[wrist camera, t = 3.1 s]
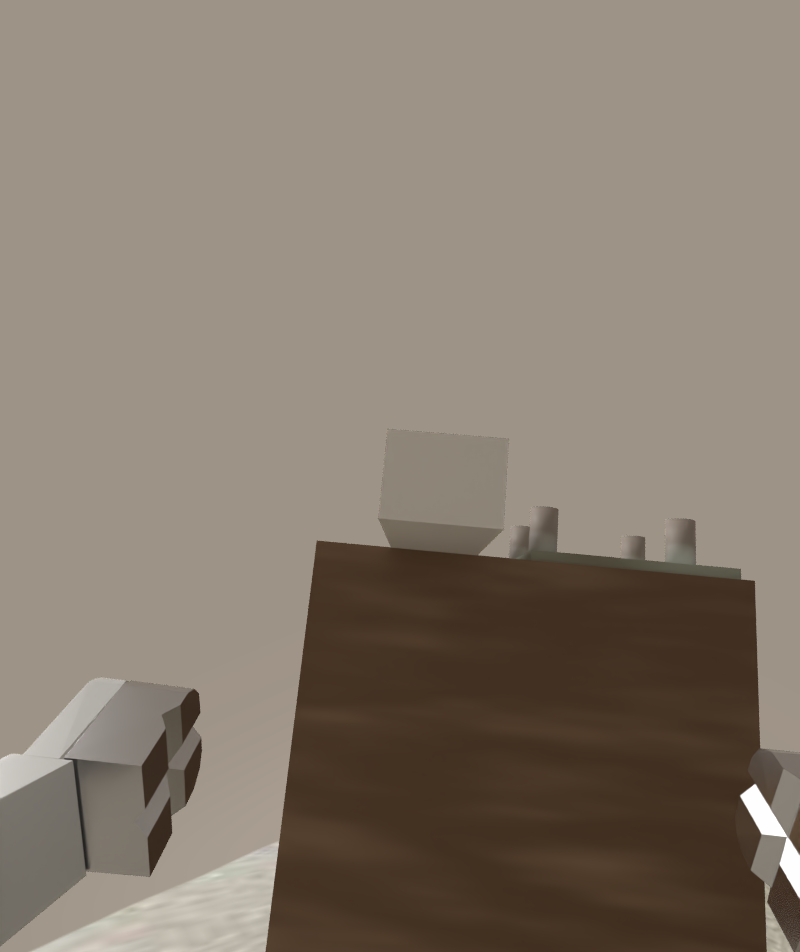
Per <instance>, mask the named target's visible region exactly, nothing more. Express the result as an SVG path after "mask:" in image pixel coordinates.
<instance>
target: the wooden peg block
mask: <svg viewBox="0 0 800 952" xmlns="http://www.w3.org/2000/svg"><path fill="white" fill-rule="evenodd" d="M530 512H531V513H530V527H528V526H511V532H510V550H509V558H500V557H489V556H478V555H467V554H456V553H445V552H434V551H423V550H412V549H402V548H391V547H380V546H369V545H358V544H347V543H336V542H324V541H317V544H316V553H315V561H314V568H313V576H312V584H311V593H310V600H309V608H308V616H307V624H306V632H305V640H304V649H303V657H302V665H301V673H300V680H299V688H298V697H297V705H296V713H295V720H294V728H293V736H292V745H291V753H290V761H289V769H288V777H287V786H286V793H285V802H284V809H283V817H282V825H281V834H280V841H279V849H278V857H277V865H276V873H275V881H274V889H273V897H272V905H271V913H270V921H269V929H268V937H267V945H266V952H767V949H766V918H765V887H764V881H763V880H761V879H760V878H759V877H758V876H757V875H756V874H754V873H753V872H752V871H751V870H750V868H749V866H748V864H747V862H746V860H745V858H744V856H743V854H742V852H741V848H740V845H739V842H738V839H737V833H736V819H735V814H736V810H737V806H738V802H739V798H740V795H742V794H743V793H744V792H745V791H747V790H748V789H749V788H751V787H752V786H753V785H755V783H754V782H753V780H752V778H751V776H750V774H749V772H748V768H749V765H750V762H751V759H752V756H753V755H754V754H755V753H756V752H757V751H758V750H759V748H760V731H759V699H758V668H757V638H756V608H755V581H750V580H741V569H734V568H724V567H713V566H702V565H696V546H695V545H696V542H695V541H696V540H695V539H696V537H695V521H694V520H691V519H667V520H665V562H658V561H647V560H645V537H641V536H622V537H621V558H614V557H602V556H591V555H581V554H570V553H558V552H557V532H558V531H557V530H558V509H557V508H553V507H532V508H531V511H530Z"/></svg>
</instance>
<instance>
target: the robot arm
mask: <svg viewBox="0 0 800 952" xmlns="http://www.w3.org/2000/svg"><path fill="white" fill-rule="evenodd" d="M199 714H200V702H199V693H198V692H197V691H196V690H195V689H191V688H183V687H175V686H168V685H160V684H152V683H144V682H137V681H130V682H129V681H125V680H117V679H109V678H100V677H99V678H96V679H93V680H91V681H89V682H88V683H87V684H86V685H85V686H84V688H83V689H82V690H81V691H80V692H79V693H78V694H77V695H76V696H75V697H74V698H73V700H72V701H71V702H70V703H69V704H68V705H67V706H66V707H65V708H64V709H63V711H62V712H61V713H60V714H59V715H58V716H57V717H56V718H55V719H54V721H53V722H52V723H51V724H50V725H49V726H48V727H47V728H46V729H45V731H44V732H43V733H42V734H41V735H40V736H39V737H38V738H37V739H36V741H35V742H34V743H33V744H32V745H31V746H30V747H29V748H28V749H27V750H26V752H25V753H24V754H23V755H21V754H10V755H8V756H6V757H4V758H2V759H0V946H1V945H2V944H4V943H5V942H6V941H7V940H9V939H10V938H11V937H12V936H13V935H15V934H16V933H17V932H18V931H19V930H21V929H22V928H23V927H24V926H25V925H27V924H28V923H29V922H30V921H32V920H33V919H34V918H35V917H36V916H38V915H39V914H40V913H41V912H43V911H44V910H45V909H46V908H47V907H49V906H50V905H51V904H52V903H53V902H54V901H56V900H57V899H58V898H60V897H61V896H62V895H63V894H64V893H66V892H67V891H68V890H69V889H70V888H71V887H73V886H74V885H75V884H76V883H78V882H79V881H80V880H81V879H83V878H84V877H85V876H86V871H88V872H101V873H111V874H123V875H135V876H146V877H150V876H151V874H152V872H153V870H154V868H155V866H156V864H157V862H158V860H159V858H160V856H161V854H162V852H163V850H164V848H165V846H166V844H167V842H168V840H169V838H170V836H171V834H172V822H171V816H172V815H173V814H175V813H176V812H178V811H179V810H180V809H182V808H183V807H185V806H186V804H187V802H188V800H189V798H190V795H191V793H192V791H193V789H194V786H195V782H196V779H197V776H198V772H199V768H200V761H201V752H202V749H201V748H202V747H201V736H200V735H199V734H198V733H197V731H196V730H195V729H194V727H193V725H194V723H195V721H196V719H197V717H198V716H199ZM748 772H749V774H750V776H751V778H752V780H753V782H754V783H755V785H753V786H752V787H751V788H749V789H748V790H747V791H745V792H744V793H743V794H742V795H740V798H739V802H738V806H737V810H736V814H735V819H736V833H737V839H738V842H739V845H740V848H741V852H742V854H743V856H744V858H745V860H746V862H747V864H748V866H749V868H750V870H751V871H752V872H753V873H754V874H756V875H757V876H758V877H759V878H760V879H761V880H763V881H764V882H765V883H766V884H767V885H769V886H770V887H771V888H770V892H769V897H768V901H767V902H768V904H769V906H770V908H771V910H772V912H773V914H774V916H775V918H776V919H777V921H778V923H779V925H780V927H781V929H782V931H783V933H784V934H785V936H786V938H787V940H788V942H789V944H790V946H791V948H792V950H793V951H794V952H800V752H790V751H780V750H770V749H761V748H759V750H758V751H757V752H756V753H755V754H754V755H753V756H752V759H751V762H750V765H749V768H748Z"/></svg>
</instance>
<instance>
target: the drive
mask: <svg viewBox="0 0 800 952" xmlns="http://www.w3.org/2000/svg"><path fill="white" fill-rule="evenodd" d="M508 446H509V439H506V438H494V437H482V436H470V435H458V434H444V433H433V432H421V431H409V430H396V429H387V439H386V448H385V458H384V468H383V477H382V487H381V497H380V507H379V516H378V519H379V521H380V523H381V525H382V528H383V530H384V532H385V535H386V537H387V539H388V541H389V544H390V546H391V548H402V549H412V550H423V551H434V552H445V553H456V554H467V555H478V554H479V553H480V552H481V551H482V550H483V549H484V548H485V547H486V546H487V545H488V544H489V543H490V542H491V541H492V540H493V539H494V538H495V537H496V536H498V534H500V533H501V532H502V531H503V529H504V515H505V498H506V481H507V463H508Z"/></svg>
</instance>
